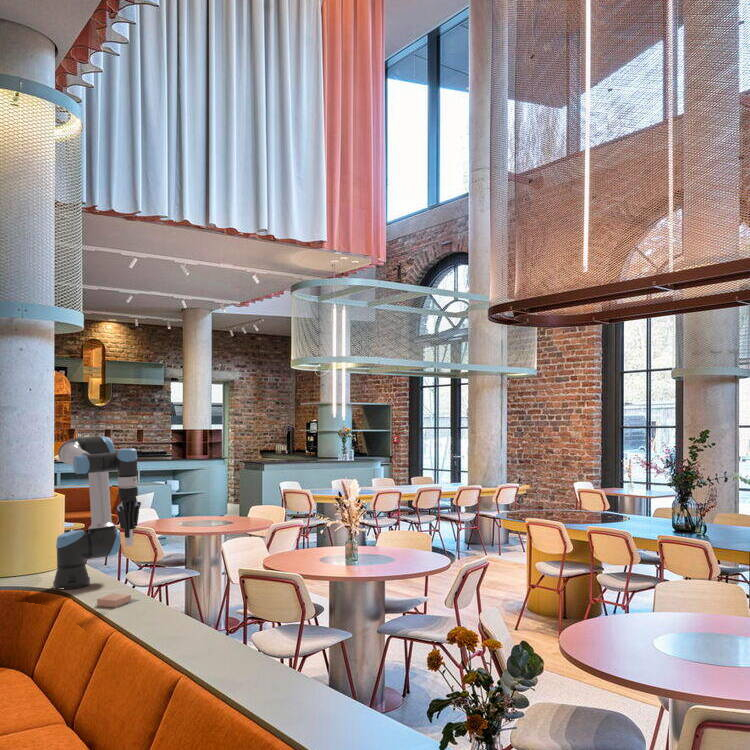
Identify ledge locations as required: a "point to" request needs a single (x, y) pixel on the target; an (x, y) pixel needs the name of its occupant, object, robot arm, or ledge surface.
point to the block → (114, 600)
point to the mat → (127, 603)
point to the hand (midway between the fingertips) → (129, 545)
